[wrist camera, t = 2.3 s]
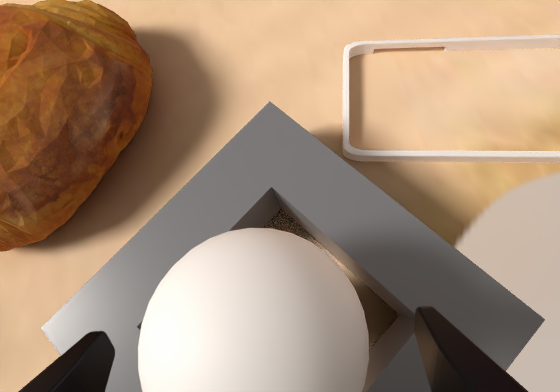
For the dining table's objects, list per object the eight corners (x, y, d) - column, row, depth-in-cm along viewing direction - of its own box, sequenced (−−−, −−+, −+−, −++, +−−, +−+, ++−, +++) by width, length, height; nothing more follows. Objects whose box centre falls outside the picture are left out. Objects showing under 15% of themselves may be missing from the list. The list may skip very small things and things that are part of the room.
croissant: (212, 110, 23) (179, 8, 16) (35, 300, 19) (-126, 281, 11) (71, 23, 27) (-11, -96, 19) (-111, 168, 22) (-311, 85, 15)
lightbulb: (206, 354, 17) (22, 457, 6) (250, 240, 18) (158, 170, 8) (323, 405, 16) (331, 635, 5) (360, 279, 17) (427, 259, 7)
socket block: (491, 312, 16) (544, 319, 12) (290, 564, 14) (280, 664, 10) (279, 138, 20) (269, 101, 16) (100, 320, 18) (40, 328, 14)
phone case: (342, 164, 19) (632, 167, 18) (343, 155, 18) (657, 157, 16) (342, 55, 21) (603, 48, 20) (344, 40, 20) (624, 31, 18)
